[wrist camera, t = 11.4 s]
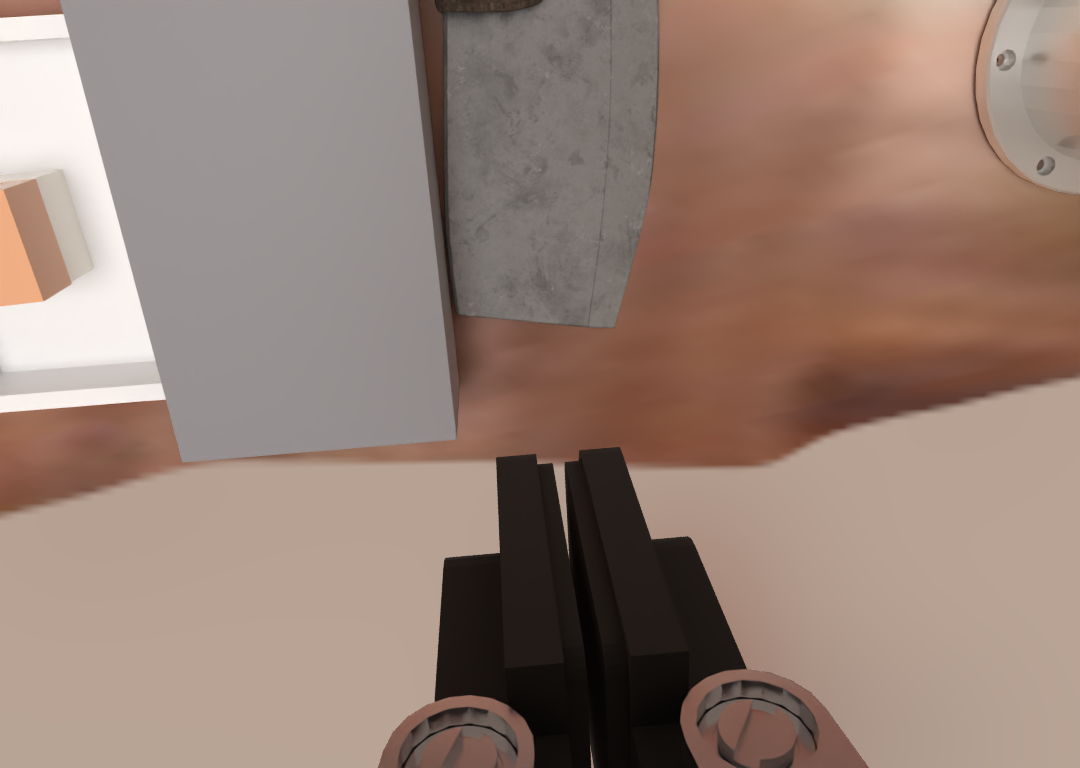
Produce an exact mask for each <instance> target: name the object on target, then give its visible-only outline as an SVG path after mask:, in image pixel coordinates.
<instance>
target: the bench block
mask: <svg viewBox="0 0 1080 768" xmlns="http://www.w3.org/2000/svg"><path fill="white" fill-rule="evenodd" d="M60 3H61V7H62V11H63V14H64V18H65V22H66V26H67V29H68V33H69V37H70V41H71V44H72V48H73V52H74V56H75V59H76V63H77V67H78V71H79V75H80V78H81V82H82V86H83V90H84V93H85V97H86V101H87V105H88V108H89V112H90V116H91V120H92V123H93V127H94V131H95V135H96V139H97V142H98V146H99V150H100V154H101V157H102V161H103V165H104V169H105V172H106V176H107V180H108V184H109V187H110V191H111V195H112V199H113V203H114V206H115V210H116V214H117V218H118V221H119V225H120V229H121V233H122V236H123V240H124V244H125V248H126V251H127V255H128V259H129V263H130V266H131V270H132V274H133V278H134V282H135V285H136V289H137V293H138V297H139V300H140V304H141V308H142V312H143V315H144V319H145V323H146V327H147V330H148V334H149V338H150V342H151V346H152V349H153V353H154V357H155V361H156V364H157V368H158V372H159V376H160V379H161V383H162V387H163V391H164V394H165V398H166V402H167V406H168V410H169V413H170V417H171V421H172V425H173V428H174V432H175V436H176V440H177V443H178V447H179V451H180V455H181V458H182V462H192V461H204V460H216V459H229V458H241V457H253V456H265V455H277V454H289V453H301V452H313V451H325V450H337V449H349V448H361V447H373V446H385V445H397V444H410V443H422V442H434V441H446V440H457V426H458V407H459V389H460V384H459V375H458V365H457V356H456V347H455V337H454V328H453V318H452V309H451V299H450V290H449V281H448V271H447V262H446V252H445V243H444V233H443V224H442V215H441V205H440V196H439V186H438V177H437V167H436V158H435V149H434V139H433V130H432V120H431V111H430V101H429V92H428V83H427V73H426V64H425V54H424V45H423V35H422V26H421V17H420V7H419V0H60Z"/></svg>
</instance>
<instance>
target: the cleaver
mask: <svg viewBox="0 0 1080 768" xmlns="http://www.w3.org/2000/svg"><path fill="white" fill-rule="evenodd" d="M435 4H436V7H437V9H438V11H441V12H443V71H444V201H445V222H446V240H447V249H448V258H449V268H450V277H451V283H452V290H453V297H454V304H455V311H456V313H457V314H458V315H464V316H475V317H485V318H496V319H506V320H517V321H527V322H538V323H548V324H559V325H569V326H580V327H596V328H614V326H615V323H616V319H617V316H618V313H619V309H620V306H621V302H622V299H623V295H624V292H625V288H626V285H627V281H628V277H629V274H630V270H631V267H632V263H633V259H634V256H635V252H636V248H637V244H638V240H639V236H640V232H641V228H642V223H643V219H644V215H645V211H646V207H647V202H648V197H649V191H650V185H651V179H652V170H653V160H654V148H655V135H656V122H657V98H658V71H659V69H658V0H435Z"/></svg>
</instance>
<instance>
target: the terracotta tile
mask: <svg viewBox="0 0 1080 768" xmlns="http://www.w3.org/2000/svg"><path fill="white" fill-rule="evenodd" d="M71 284H72V283H71V280H70V277H69V274H68V271H67V268H66V265H65V262H64V259H63V256H62V253H61V251H60V248H59V245H58V242H57V239H56V236H55V233H54V230H53V227H52V224H51V222H50V219H49V216H48V213H47V210H46V207H45V204H44V201H43V198H42V195H41V193H40V190H39V187H38V184H37V181H36V179H28V180H20V181H11V182H2V183H0V306H9V305H17V304H26V303H35V302H43V301H45V300H47V299H48V298H50V297H52V296H53V295H55V294H57V293H58V292H60V291H61V290H63V289H65V288H66V287H68V286H69V285H71Z"/></svg>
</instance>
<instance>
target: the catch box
mask: <svg viewBox="0 0 1080 768" xmlns="http://www.w3.org/2000/svg"><path fill="white" fill-rule="evenodd" d="M56 169H62V170H63V173H64V176H65V179H66V183H67V186H68V189H69V192H70V195H71V198H72V202H73V205H74V208H75V211H76V214H77V217H78V220H79V224H80V227H81V230H82V233H83V236H84V239H85V242H86V246H87V249H88V252H89V255H90V258H91V261H92V264H93V268H94V269H92V270H90V271H89V272H87V273H85V274H84V275H82V276H80V277H79V278H77V279H76V280H74V281H72V282H71V283H72V284H71V285H69V286H68V287H66V288H65V289H63V290H61V291H60V292H58V293H57V294H55V295H53V296H52V297H50V298H48V299H47V300H45V301H43V302H35V303H26V304H17V305H9V306H0V412H13V411H26V410H38V409H51V408H63V407H76V406H88V405H101V404H113V403H126V402H138V401H151V400H163V399H166V398H165V394H164V391H163V387H162V383H161V379H160V376H159V372H158V368H157V364H156V361H155V357H154V353H153V349H152V346H151V342H150V338H149V334H148V330H147V327H146V323H145V319H144V315H143V312H142V308H141V304H140V300H139V297H138V293H137V289H136V285H135V282H134V278H133V274H132V270H131V266H130V263H129V259H128V255H127V251H126V248H125V244H124V240H123V236H122V233H121V229H120V225H119V221H118V218H117V214H116V210H115V206H114V203H113V199H112V195H111V191H110V187H109V184H108V180H107V176H106V172H105V169H104V165H103V161H102V157H101V154H100V150H99V146H98V142H97V139H96V135H95V131H94V127H93V123H92V120H91V116H90V112H89V108H88V105H87V101H86V97H85V93H84V90H83V86H82V82H81V78H80V75H79V71H78V67H77V63H76V59H75V56H74V52H73V48H72V44H71V41H70V37H69V33H68V29H67V26H66V22H65V18H64V14H58V15H41V16H25V17H9V18H0V175H6V174H16V173H26V172H36V171H46V170H56Z"/></svg>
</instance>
